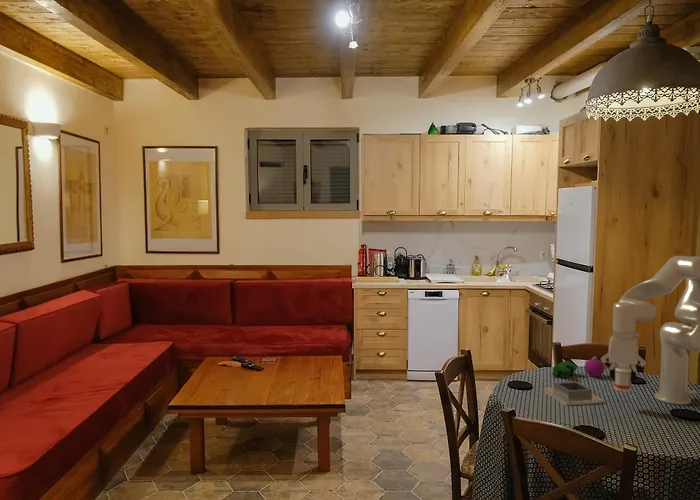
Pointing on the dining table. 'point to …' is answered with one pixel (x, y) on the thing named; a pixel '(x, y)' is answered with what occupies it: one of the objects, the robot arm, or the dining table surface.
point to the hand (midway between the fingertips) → (622, 379)
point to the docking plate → (572, 394)
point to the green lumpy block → (564, 369)
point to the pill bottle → (622, 376)
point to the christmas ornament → (594, 367)
